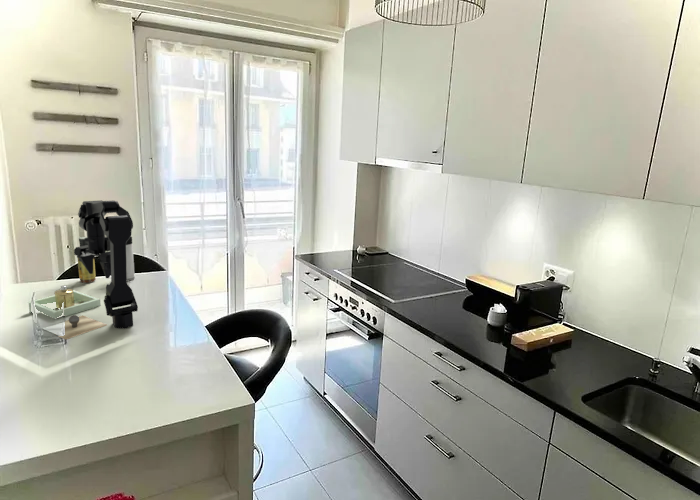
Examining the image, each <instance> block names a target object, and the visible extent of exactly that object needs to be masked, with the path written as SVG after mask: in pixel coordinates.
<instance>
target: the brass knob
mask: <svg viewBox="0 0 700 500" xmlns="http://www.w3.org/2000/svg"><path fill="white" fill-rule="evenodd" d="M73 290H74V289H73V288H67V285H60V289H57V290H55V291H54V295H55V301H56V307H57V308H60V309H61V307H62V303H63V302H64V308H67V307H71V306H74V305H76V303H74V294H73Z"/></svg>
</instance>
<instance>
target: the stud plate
mask: <svg viewBox="0 0 700 500" xmlns="http://www.w3.org/2000/svg"><path fill="white" fill-rule="evenodd" d="M64 321H65V335H64V336H57V337H59V338H60V339H63V340H65V341H66V340H69V339H71V338H74V337H77V336H80V335H84V334H86V333H89V332H92V331H94V330H98V329H101V328H103V327H106V326H108V324H106V323H104V322H101V321H98V320H95V319H94V318H91V317H89V316H86V315H80V316H79V315H76V314H72V315H70V316H69V318H68V319H67V320H64Z"/></svg>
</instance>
